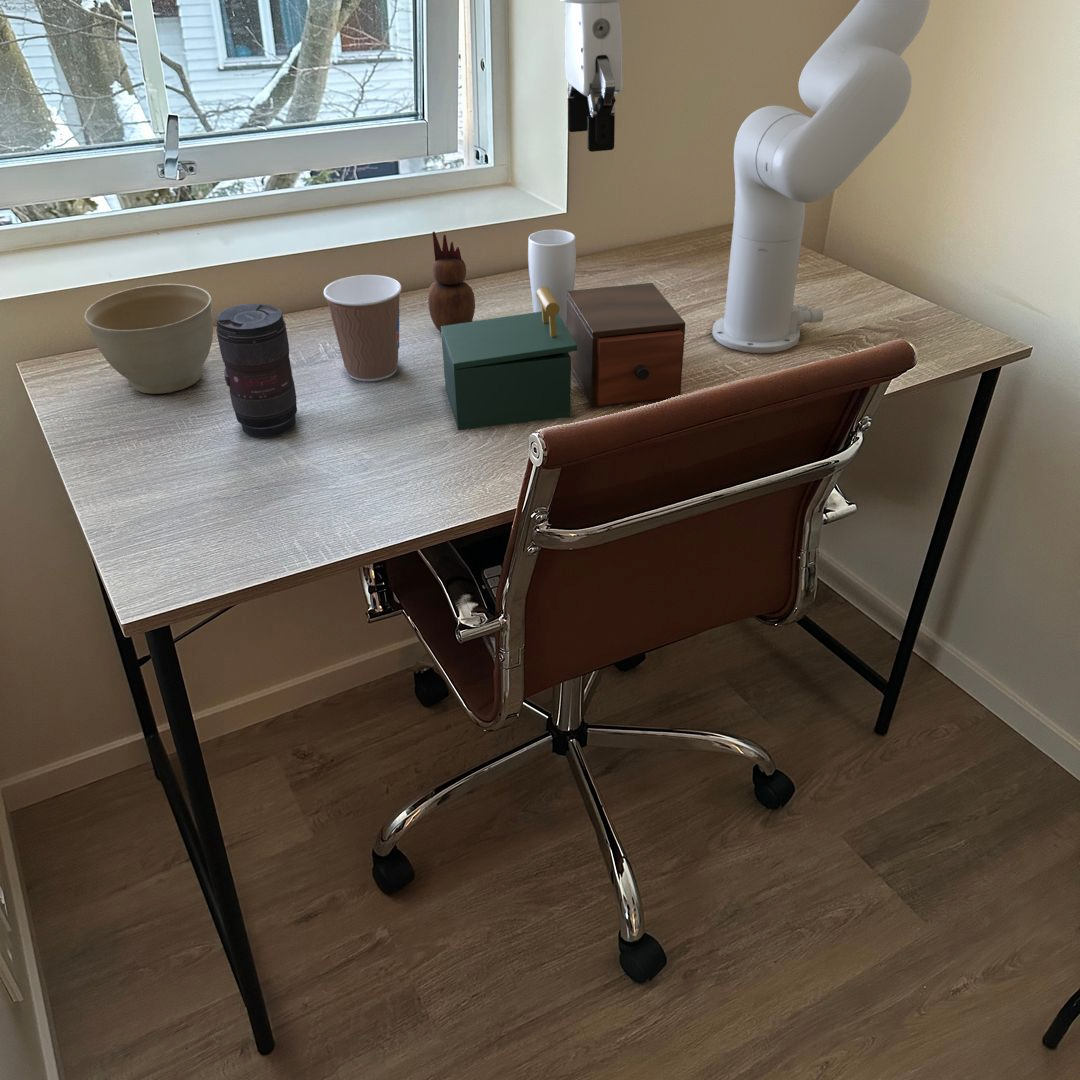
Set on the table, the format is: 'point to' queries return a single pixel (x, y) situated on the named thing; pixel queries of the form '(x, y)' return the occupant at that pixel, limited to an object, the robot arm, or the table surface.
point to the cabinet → (613, 325)
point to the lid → (509, 336)
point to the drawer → (638, 366)
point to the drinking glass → (552, 266)
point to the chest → (509, 390)
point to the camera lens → (258, 368)
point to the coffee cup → (366, 324)
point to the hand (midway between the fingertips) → (590, 140)
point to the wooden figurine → (449, 288)
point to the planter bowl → (154, 334)
